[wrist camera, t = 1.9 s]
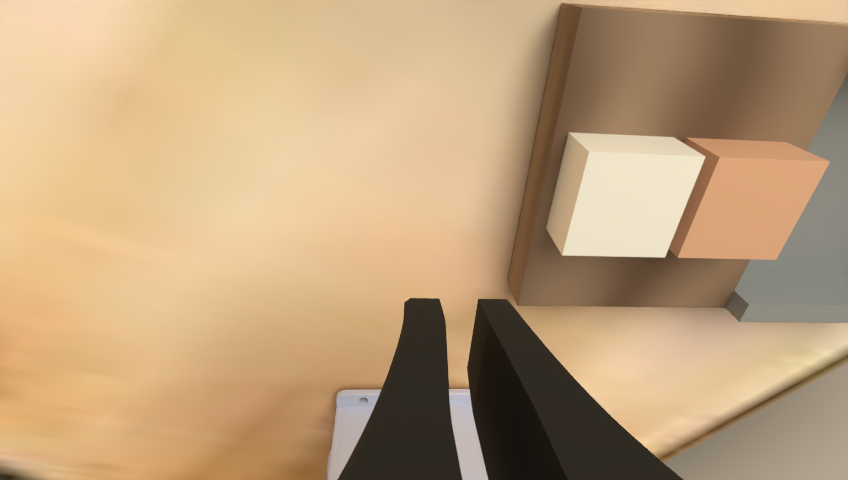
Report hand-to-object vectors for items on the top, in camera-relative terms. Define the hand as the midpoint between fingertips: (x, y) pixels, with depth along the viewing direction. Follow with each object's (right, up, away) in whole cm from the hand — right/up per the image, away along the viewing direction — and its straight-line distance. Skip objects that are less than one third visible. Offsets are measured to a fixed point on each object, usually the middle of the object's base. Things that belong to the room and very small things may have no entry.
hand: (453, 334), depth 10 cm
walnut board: (+9, +5, +10) cm, 14 cm away
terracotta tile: (+11, +4, +8) cm, 14 cm away
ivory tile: (+6, +4, +8) cm, 11 cm away
